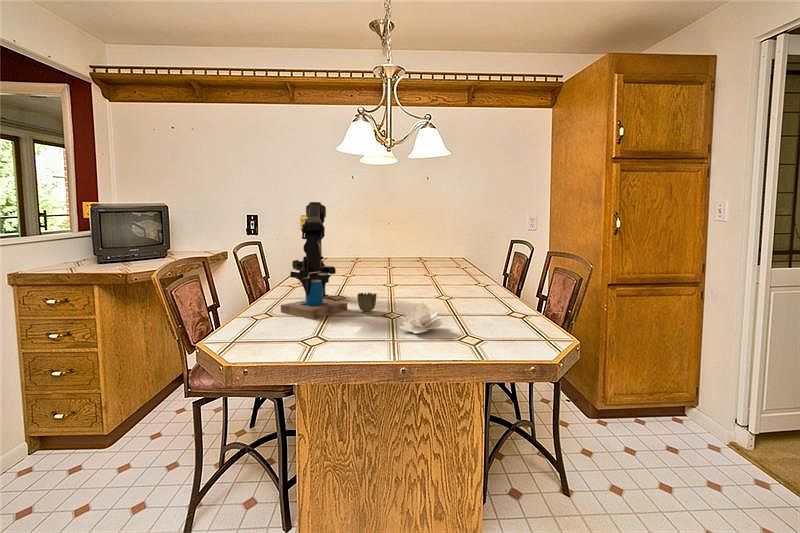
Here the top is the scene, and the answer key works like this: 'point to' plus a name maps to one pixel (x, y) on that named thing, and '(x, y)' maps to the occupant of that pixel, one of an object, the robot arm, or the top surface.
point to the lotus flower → (421, 319)
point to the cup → (366, 302)
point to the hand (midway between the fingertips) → (314, 294)
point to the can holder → (313, 309)
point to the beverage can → (315, 294)
